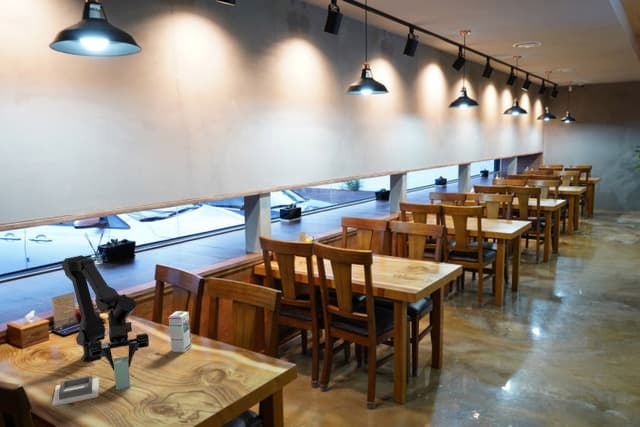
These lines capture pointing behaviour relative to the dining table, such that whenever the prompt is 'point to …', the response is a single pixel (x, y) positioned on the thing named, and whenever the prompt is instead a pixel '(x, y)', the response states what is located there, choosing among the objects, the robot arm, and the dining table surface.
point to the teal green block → (121, 373)
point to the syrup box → (180, 331)
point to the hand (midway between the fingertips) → (121, 368)
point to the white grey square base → (76, 390)
